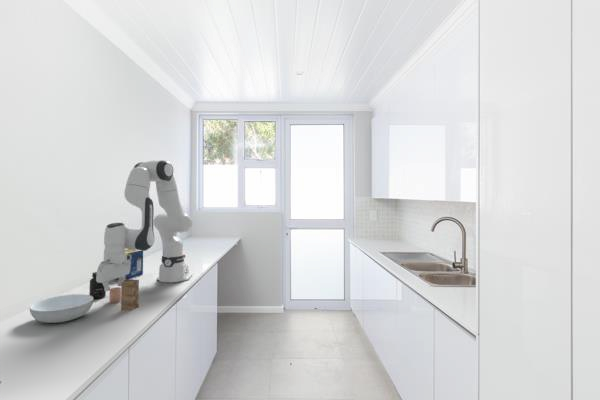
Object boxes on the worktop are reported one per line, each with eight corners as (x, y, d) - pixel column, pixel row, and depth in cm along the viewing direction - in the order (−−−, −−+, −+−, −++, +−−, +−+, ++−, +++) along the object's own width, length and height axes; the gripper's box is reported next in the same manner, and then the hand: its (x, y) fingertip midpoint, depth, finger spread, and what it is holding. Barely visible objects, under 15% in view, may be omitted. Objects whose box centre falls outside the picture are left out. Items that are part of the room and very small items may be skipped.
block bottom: (127, 306, 153) (127, 297, 153) (138, 306, 152) (138, 297, 152) (121, 309, 148) (121, 300, 148) (132, 310, 147) (132, 301, 147)
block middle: (127, 297, 153) (127, 288, 152) (138, 297, 152) (138, 288, 152) (121, 300, 148) (121, 291, 147) (132, 301, 147) (132, 291, 147)
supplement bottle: (98, 300, 161) (98, 274, 161) (85, 298, 162) (86, 273, 162) (109, 295, 167) (109, 271, 167) (97, 294, 169) (97, 270, 169)
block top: (127, 288, 152) (128, 279, 152) (138, 288, 152) (138, 279, 152) (121, 291, 147) (121, 282, 147) (132, 291, 147) (132, 282, 147)
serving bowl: (38, 313, 142) (38, 297, 142) (96, 307, 150) (97, 292, 150) (21, 332, 123) (21, 313, 123) (88, 324, 131) (88, 306, 131)
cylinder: (113, 299, 161) (113, 287, 161) (122, 300, 161) (122, 287, 161) (107, 302, 157) (107, 289, 157) (116, 303, 156) (116, 290, 156)
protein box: (110, 279, 200) (110, 252, 200) (129, 273, 215) (129, 248, 215) (125, 280, 198) (125, 253, 197) (143, 274, 213) (143, 249, 212)
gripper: (106, 262, 148) (105, 294, 148) (133, 255, 168) (132, 283, 168) (92, 261, 148) (91, 293, 148) (121, 254, 169) (120, 282, 169)
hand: (113, 288), depth 158 cm, fingers open, 8 cm apart
